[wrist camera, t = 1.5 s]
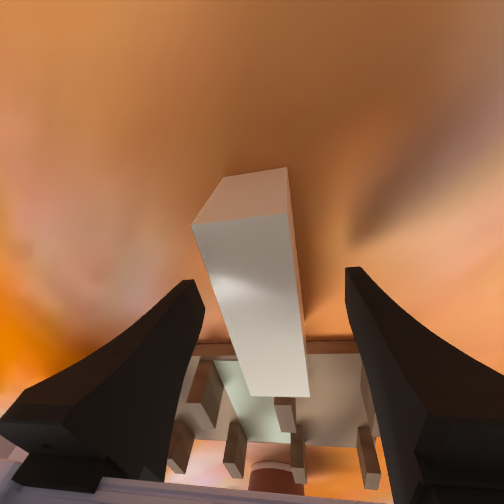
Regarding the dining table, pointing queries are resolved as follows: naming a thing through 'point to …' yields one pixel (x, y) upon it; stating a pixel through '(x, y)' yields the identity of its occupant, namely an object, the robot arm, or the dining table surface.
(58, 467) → the robot arm
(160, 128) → the dining table surface
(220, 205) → the cream rectangular block
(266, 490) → the coffee cup
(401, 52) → the dining table surface
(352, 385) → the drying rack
